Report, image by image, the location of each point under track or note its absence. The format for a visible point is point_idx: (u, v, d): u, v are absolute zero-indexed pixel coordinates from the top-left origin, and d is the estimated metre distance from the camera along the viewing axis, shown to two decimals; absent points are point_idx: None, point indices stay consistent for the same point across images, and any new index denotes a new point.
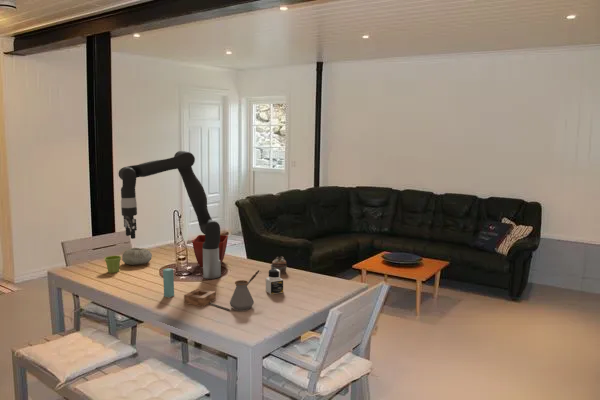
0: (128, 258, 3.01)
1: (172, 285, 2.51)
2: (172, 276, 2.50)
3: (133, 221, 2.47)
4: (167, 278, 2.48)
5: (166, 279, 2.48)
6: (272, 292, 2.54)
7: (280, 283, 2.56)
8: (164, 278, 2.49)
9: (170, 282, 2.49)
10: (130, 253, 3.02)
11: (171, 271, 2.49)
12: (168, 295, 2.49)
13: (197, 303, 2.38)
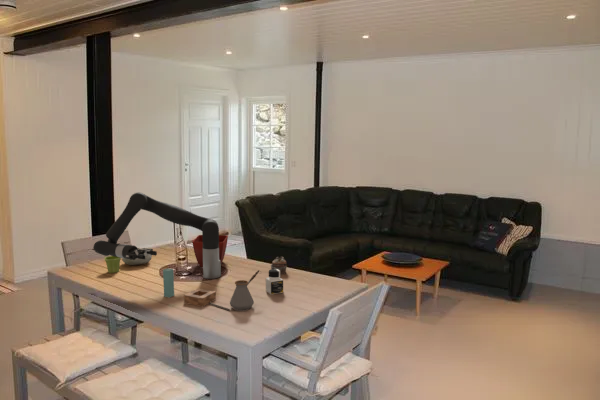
0: None
1: (172, 285, 2.51)
2: (172, 276, 2.50)
3: (127, 256, 2.51)
4: (167, 278, 2.48)
5: (166, 279, 2.48)
6: (272, 292, 2.54)
7: (280, 283, 2.56)
8: (164, 278, 2.49)
9: (170, 282, 2.49)
10: None
11: (171, 271, 2.49)
12: (168, 295, 2.49)
13: (197, 303, 2.38)
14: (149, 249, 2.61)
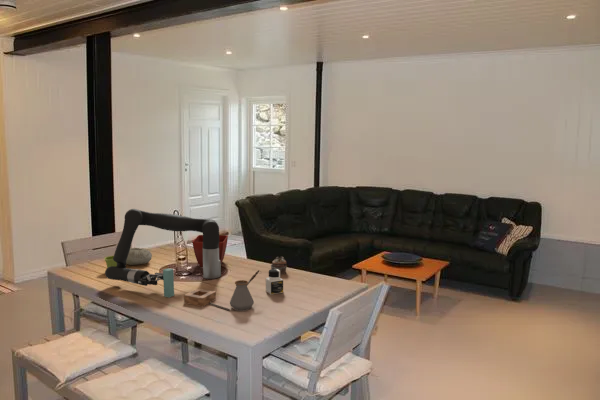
0: (128, 258, 3.01)
1: (172, 285, 2.51)
2: (172, 276, 2.50)
3: (139, 282, 2.50)
4: (167, 278, 2.48)
5: (166, 278, 2.48)
6: (272, 292, 2.54)
7: (280, 283, 2.56)
8: (164, 278, 2.49)
9: (170, 282, 2.49)
10: (130, 253, 3.02)
11: (171, 271, 2.49)
12: (168, 295, 2.49)
13: (197, 303, 2.38)
14: (161, 274, 2.60)
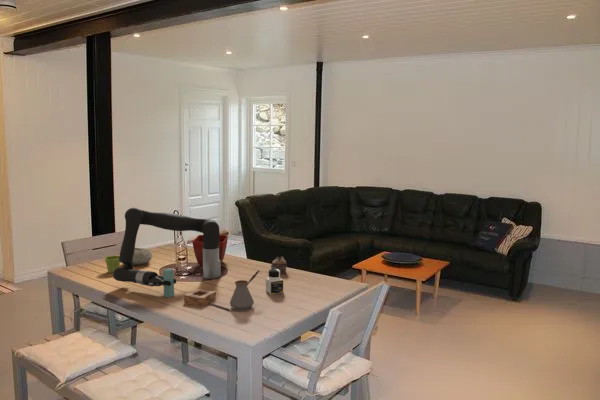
0: None
1: (172, 285, 2.51)
2: (172, 276, 2.50)
3: (151, 283, 2.47)
4: (167, 278, 2.48)
5: (166, 278, 2.48)
6: (272, 292, 2.54)
7: (280, 283, 2.56)
8: (164, 278, 2.49)
9: None
10: None
11: (171, 271, 2.49)
12: (168, 295, 2.49)
13: (197, 303, 2.38)
14: None
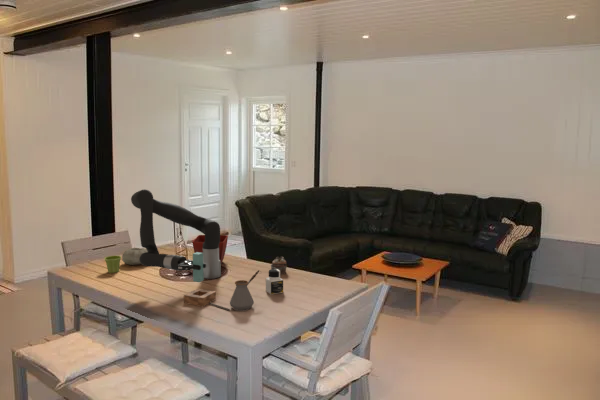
0: (128, 258, 3.01)
1: (202, 269, 2.42)
2: (202, 260, 2.41)
3: (180, 268, 2.38)
4: (196, 262, 2.39)
5: (196, 262, 2.40)
6: (272, 292, 2.54)
7: (280, 283, 2.56)
8: (193, 262, 2.40)
9: None
10: (130, 253, 3.02)
11: (201, 255, 2.40)
12: (198, 280, 2.40)
13: (197, 303, 2.38)
14: None
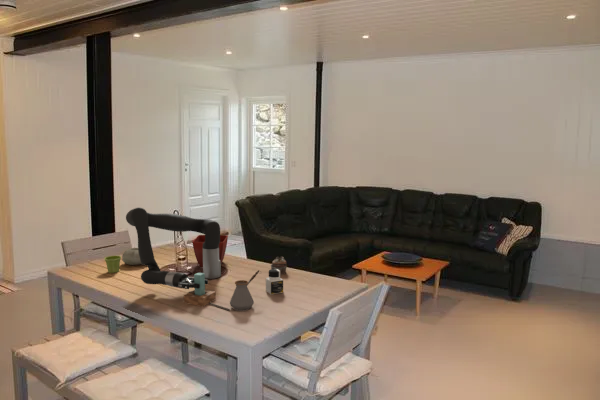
0: (128, 258, 3.01)
1: (203, 290, 2.43)
2: (203, 280, 2.43)
3: (179, 285, 2.40)
4: (198, 283, 2.41)
5: (198, 283, 2.41)
6: (272, 292, 2.54)
7: (280, 283, 2.56)
8: None
9: (201, 287, 2.42)
10: (130, 253, 3.02)
11: (202, 275, 2.42)
12: None
13: (197, 303, 2.38)
14: None
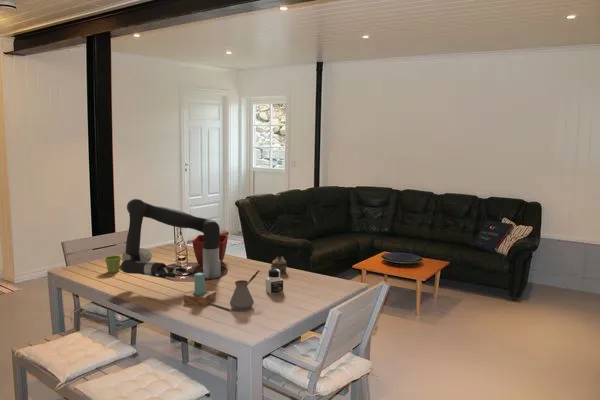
0: (128, 258, 3.01)
1: (203, 290, 2.43)
2: (203, 280, 2.43)
3: (156, 274, 2.46)
4: (198, 283, 2.41)
5: (198, 283, 2.41)
6: (272, 292, 2.54)
7: (280, 283, 2.56)
8: (195, 283, 2.42)
9: (201, 287, 2.42)
10: None
11: (202, 275, 2.42)
12: None
13: (197, 303, 2.38)
14: (178, 266, 2.56)
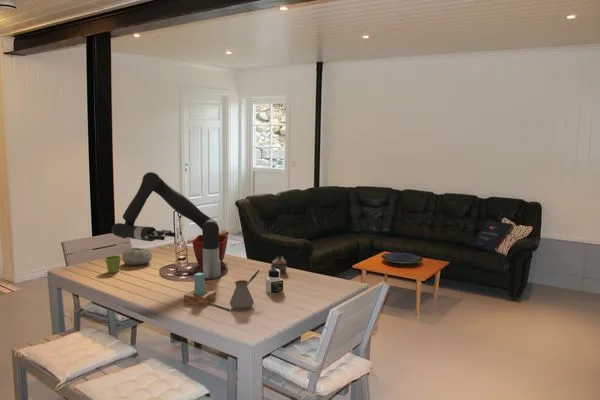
0: (128, 258, 3.01)
1: (203, 290, 2.43)
2: (203, 280, 2.43)
3: (146, 237, 2.50)
4: (198, 283, 2.41)
5: (198, 283, 2.41)
6: (272, 292, 2.54)
7: (280, 283, 2.56)
8: (195, 283, 2.42)
9: (201, 287, 2.42)
10: (130, 253, 3.02)
11: (202, 275, 2.42)
12: None
13: (197, 303, 2.38)
14: (167, 231, 2.60)
